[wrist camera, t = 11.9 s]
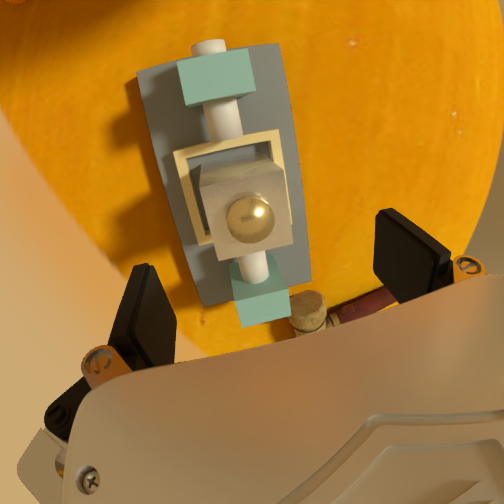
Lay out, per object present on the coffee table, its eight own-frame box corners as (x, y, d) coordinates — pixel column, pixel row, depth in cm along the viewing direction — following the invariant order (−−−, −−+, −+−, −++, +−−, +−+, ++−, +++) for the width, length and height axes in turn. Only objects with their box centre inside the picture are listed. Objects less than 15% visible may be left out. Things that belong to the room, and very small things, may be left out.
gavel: (439, 253, 30) (431, 308, 35) (417, 238, 34) (414, 292, 39) (292, 323, 29) (306, 373, 34) (279, 298, 33) (295, 349, 38)
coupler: (201, 163, 23) (198, 191, 15) (259, 151, 23) (287, 172, 15) (214, 217, 25) (219, 267, 18) (268, 205, 25) (296, 249, 18)
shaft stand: (140, 74, 19) (114, 60, 13) (274, 47, 20) (301, 24, 13) (203, 298, 31) (204, 347, 24) (307, 273, 32) (331, 316, 25)
